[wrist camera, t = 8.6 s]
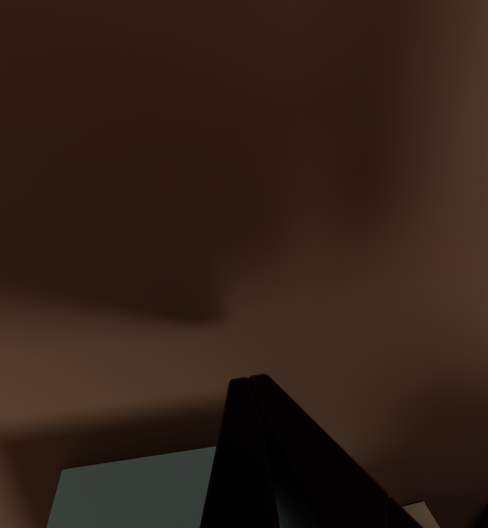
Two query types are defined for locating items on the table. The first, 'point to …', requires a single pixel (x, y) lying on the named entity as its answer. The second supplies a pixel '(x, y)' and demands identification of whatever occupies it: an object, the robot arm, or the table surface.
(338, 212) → the table surface
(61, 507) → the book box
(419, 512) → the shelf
